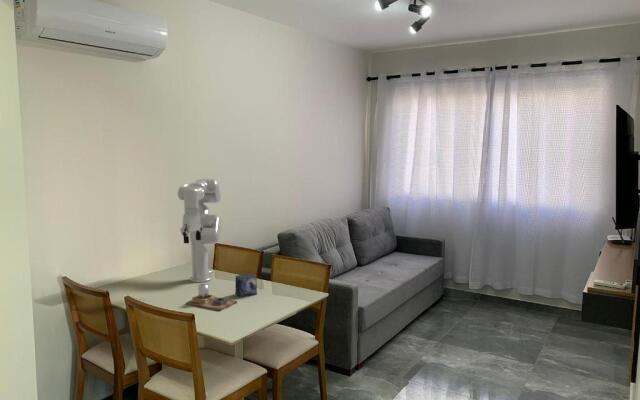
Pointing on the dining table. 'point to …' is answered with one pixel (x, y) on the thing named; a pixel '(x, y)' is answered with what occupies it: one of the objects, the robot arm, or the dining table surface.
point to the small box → (246, 285)
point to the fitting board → (211, 303)
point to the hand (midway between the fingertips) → (192, 241)
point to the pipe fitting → (203, 291)
